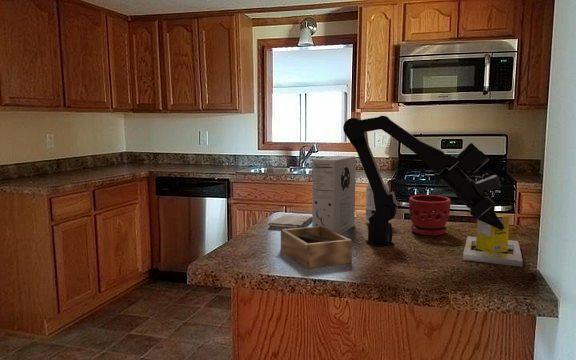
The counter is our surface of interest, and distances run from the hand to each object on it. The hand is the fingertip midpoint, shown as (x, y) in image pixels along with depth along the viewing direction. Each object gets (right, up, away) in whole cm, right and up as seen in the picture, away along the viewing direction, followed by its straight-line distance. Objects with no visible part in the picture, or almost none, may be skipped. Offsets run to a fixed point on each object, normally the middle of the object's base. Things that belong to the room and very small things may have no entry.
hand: (500, 225), depth 124 cm
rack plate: (-2, -8, +1) cm, 8 cm away
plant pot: (-12, -5, +25) cm, 28 cm away
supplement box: (-2, -8, +2) cm, 8 cm away
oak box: (-52, -8, -2) cm, 53 cm away
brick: (-51, -8, +1) cm, 52 cm away
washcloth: (-58, -4, +37) cm, 69 cm away
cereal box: (-43, -5, +28) cm, 52 cm away
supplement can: (-27, -4, +40) cm, 48 cm away
